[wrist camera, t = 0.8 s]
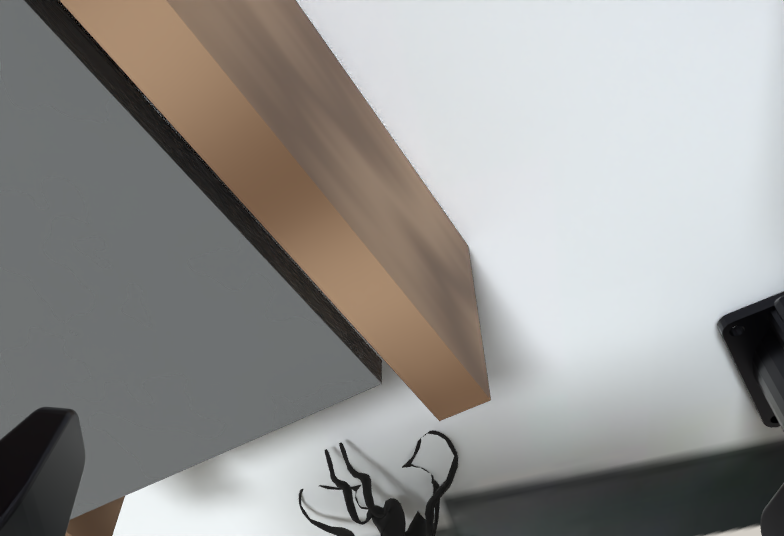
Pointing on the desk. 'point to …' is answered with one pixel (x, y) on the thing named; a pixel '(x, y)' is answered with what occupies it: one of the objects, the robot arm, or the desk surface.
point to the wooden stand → (307, 180)
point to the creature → (388, 502)
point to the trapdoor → (141, 277)
